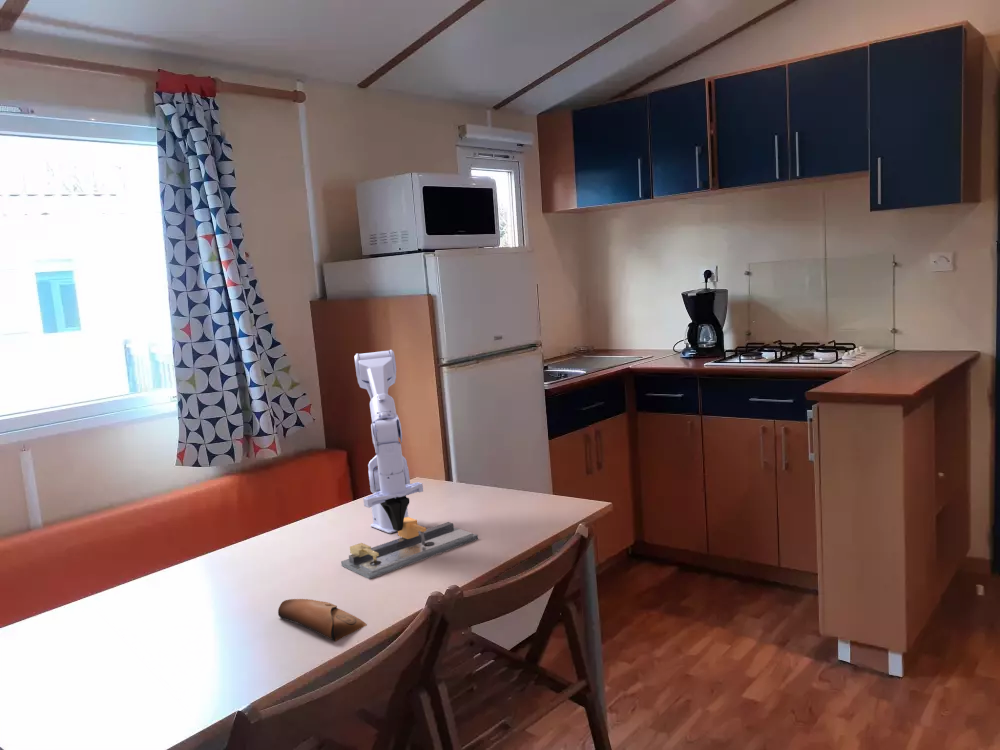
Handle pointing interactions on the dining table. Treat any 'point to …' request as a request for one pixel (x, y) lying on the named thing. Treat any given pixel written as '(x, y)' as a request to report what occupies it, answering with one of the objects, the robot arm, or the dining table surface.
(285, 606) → the sunglasses case
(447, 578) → the dining table surface
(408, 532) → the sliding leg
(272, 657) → the dining table surface
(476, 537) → the board
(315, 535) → the dining table surface
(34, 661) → the dining table surface
